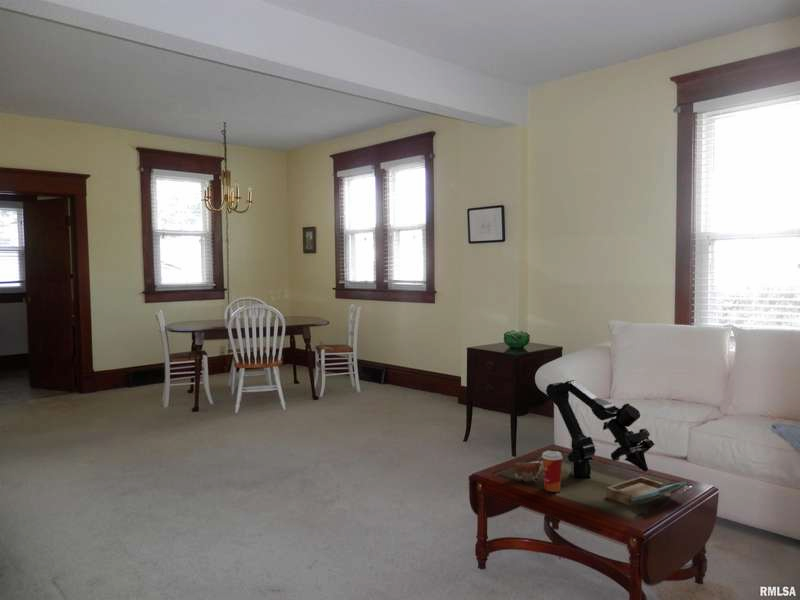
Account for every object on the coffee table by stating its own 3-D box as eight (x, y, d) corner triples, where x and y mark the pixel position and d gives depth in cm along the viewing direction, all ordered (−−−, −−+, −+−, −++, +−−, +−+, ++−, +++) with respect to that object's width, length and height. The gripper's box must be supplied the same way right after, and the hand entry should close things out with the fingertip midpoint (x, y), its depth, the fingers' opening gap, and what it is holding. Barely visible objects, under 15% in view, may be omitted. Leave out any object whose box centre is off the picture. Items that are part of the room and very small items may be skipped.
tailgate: (630, 498, 212) (651, 493, 206) (665, 486, 223) (685, 481, 216) (632, 502, 212) (652, 497, 205) (666, 489, 223) (687, 485, 216)
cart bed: (606, 496, 221) (606, 487, 221) (640, 485, 232) (640, 476, 232) (629, 505, 213) (629, 495, 213) (663, 492, 224) (663, 483, 224)
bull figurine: (547, 483, 236) (547, 462, 236) (512, 481, 239) (512, 460, 239) (547, 479, 241) (547, 459, 240) (512, 477, 243) (512, 457, 243)
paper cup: (543, 485, 234) (543, 449, 233) (564, 487, 231) (563, 451, 230) (540, 492, 227) (539, 455, 226) (561, 495, 224) (561, 457, 223)
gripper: (618, 425, 216) (644, 464, 208) (650, 417, 227) (677, 454, 218) (599, 442, 224) (624, 480, 215) (631, 433, 234) (657, 470, 225)
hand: (646, 470), depth 218 cm, fingers closed
